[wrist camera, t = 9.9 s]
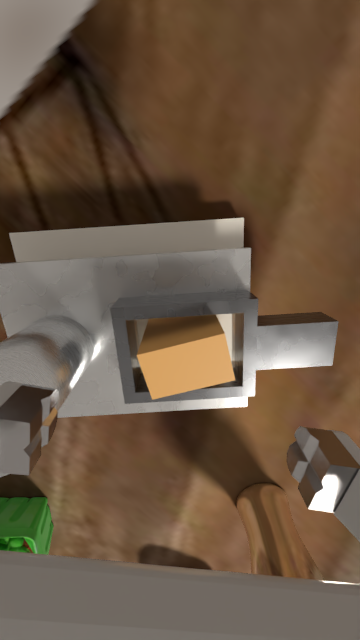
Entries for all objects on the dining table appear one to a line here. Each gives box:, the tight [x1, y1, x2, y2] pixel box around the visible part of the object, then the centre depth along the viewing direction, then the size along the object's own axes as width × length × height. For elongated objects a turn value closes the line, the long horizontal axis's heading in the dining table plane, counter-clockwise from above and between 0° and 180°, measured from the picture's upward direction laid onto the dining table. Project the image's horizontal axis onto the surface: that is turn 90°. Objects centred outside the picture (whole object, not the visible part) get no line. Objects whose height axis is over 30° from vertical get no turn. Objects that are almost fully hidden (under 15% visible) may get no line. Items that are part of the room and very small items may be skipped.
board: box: [9, 218, 244, 361], centre depth 23 cm, size 18×16×2 cm
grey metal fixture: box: [0, 247, 338, 477], centre depth 16 cm, size 22×12×12 cm, turn 94°
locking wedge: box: [137, 315, 235, 400], centre depth 18 cm, size 5×3×8 cm, turn 105°
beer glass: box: [237, 483, 325, 581], centre depth 24 cm, size 7×7×15 cm
